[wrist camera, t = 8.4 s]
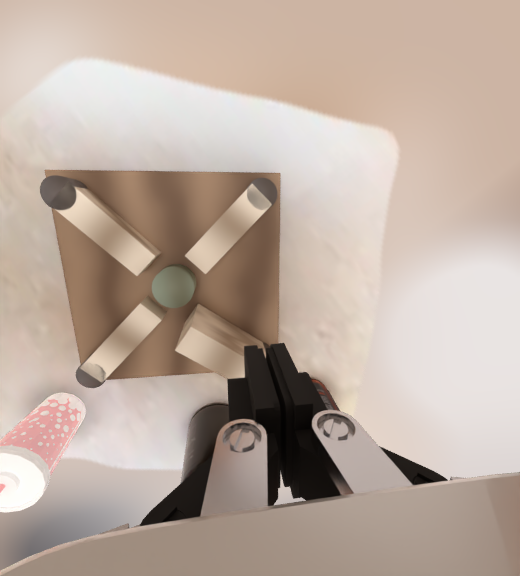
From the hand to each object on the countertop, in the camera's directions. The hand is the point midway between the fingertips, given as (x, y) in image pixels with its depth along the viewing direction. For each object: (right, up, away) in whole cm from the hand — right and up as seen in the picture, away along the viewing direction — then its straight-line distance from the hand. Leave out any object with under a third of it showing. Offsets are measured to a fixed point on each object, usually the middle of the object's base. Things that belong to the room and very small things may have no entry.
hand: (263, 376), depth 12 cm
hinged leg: (-3, -1, +17) cm, 18 cm away
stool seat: (-8, +5, +18) cm, 20 cm away
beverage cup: (-22, -10, +20) cm, 32 cm away
